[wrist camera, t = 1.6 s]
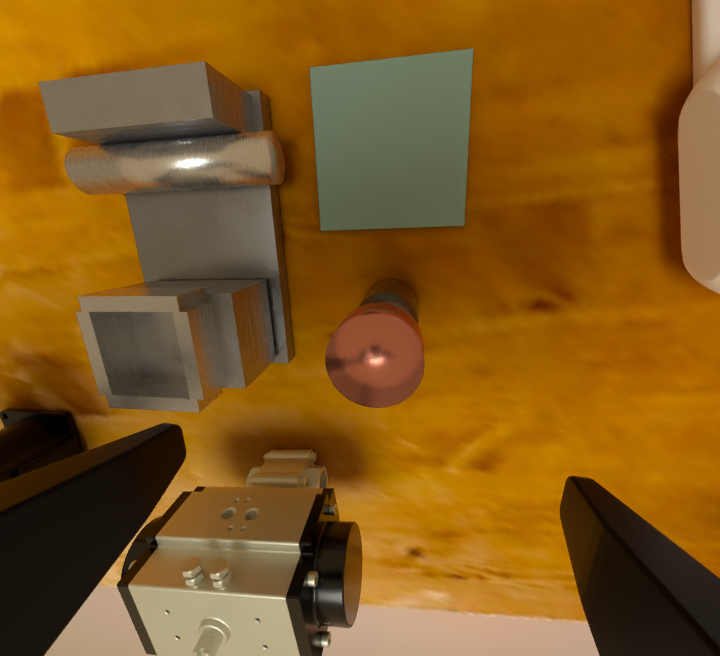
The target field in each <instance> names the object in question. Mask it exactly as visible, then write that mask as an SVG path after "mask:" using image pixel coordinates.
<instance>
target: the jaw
mask: <svg viewBox="0 0 720 656" xmlns="http://www.w3.org/2000/svg"><path fill="white" fill-rule="evenodd" d="M78 299H79V303H80V306H81V310H80V311H76V315H77V319H78V322H79V325H80V329H81V332H82V336H83V339H84V343H85V346H86V349H87V353H88V356H89V360H90V363H91V366H92V370H93V373H94V377H95V380H96V384H97V387H98V390H99V394H100V395H106V397H107V401H108V404H109V408H127V409H145V410H162V411H180V412H198V413H200V412H201V411H202V410H203V409H204V408H205V407H206V406H208V405H209V404H210V403H211V402H212V401H213V400H214V399H216V398H217V397H218V396H219V395H220V394H221V393H222V388H221V387H225V388H246V387H247V386H248V385H249V384H250V383H251V382H252V381H253V380H254V379H255V378H257V377H258V376H259V375H260V374H261V373H262V372H263V371H264V370H265V369H266V368H267V367H268V366H269V365H270V364H271V363H272V362H273V361H274V360H275V359H276V358H275V350H274V342H273V333H272V325H271V316H270V308H269V300H268V291H267V283H266V280H186V281H148V282H144V283H140V284H135V285H131V286H127V287H122V288H113V289H109V290H104V291H100V292H95V293H91V294H87V295H82V296H78Z"/></svg>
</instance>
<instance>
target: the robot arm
mask: <svg viewBox="0 0 720 656" xmlns="http://www.w3.org/2000/svg"><path fill="white" fill-rule="evenodd" d="M0 417H1V419H2V422H3V424H4V427H5V428H3V429H1V430H0V656H44V655H45V654H46V652H47V651H48V650H49V648H50V647H51V646H52V644H53V643H54V642H55V641H56V639H57V638H58V637H59V635H60V634H61V633H62V631H63V629H65V627H66V626H67V625H68V623H69V622H70V621H71V619H72V618H73V617H74V615H75V614H76V613H77V611H78V610H79V609H80V607H81V606H82V605H83V603H84V602H85V601H86V600H87V598H88V597H89V595H90V594H91V593H92V592H93V590H94V589H95V588H96V586H97V585H98V584H99V582H100V581H101V580H102V578H103V577H104V576H105V574H106V573H107V572H108V570H109V569H110V568H111V566H112V565H113V564H114V563H115V561H116V560H117V559H118V557H119V556H120V555H121V553H122V552H123V551H124V549H125V548H126V547H127V545H128V544H129V543H130V541H131V540H132V539H133V537H134V536H135V535H136V533H137V532H138V531H139V529H140V528H141V527H142V525H143V524H144V523H145V521H146V520H147V519H148V517H149V516H150V514H151V513H152V511H153V510H154V508H155V506H156V505H157V503H158V502H159V500H160V499H161V497H162V495H163V494H164V492H165V491H166V489H167V488H168V486H169V484H170V483H171V481H172V480H173V478H174V476H175V475H176V473H177V472H178V470H179V469H180V467H181V465H182V464H183V462H184V460H185V458H186V447H185V442H184V438H183V433H182V429H181V427H180V426H179V425H176V424H169V423H162V424H159V425H157V426H154V427H151V428H148V429H146V430H143V431H140V432H138V433H135V434H132V435H129V436H127V437H124V438H121V439H119V440H116V441H113V442H110V443H108V444H105V445H102V446H100V447H97V448H94V449H91V450H89V451H86V452H83V450H82V447H81V444H80V441H79V438H78V435H77V432H76V429H75V426H74V422H73V419H72V417H71V415H70V414H69V413H67V412H59V411H42V410H25V409H5V410H3V411H1V412H0ZM560 519H561V523H562V527H563V531H564V535H565V539H566V543H567V548H568V552H569V556H570V560H571V564H572V568H573V572H574V576H575V580H576V584H577V588H578V592H579V596H580V600H581V603H582V606H583V609H584V612H585V615H586V618H587V621H588V624H589V627H590V630H591V633H592V636H593V638H594V641H595V644H596V647H597V649H598V652H599V655H600V656H720V578H719V577H717V576H716V575H715V574H713V573H712V572H711V571H710V570H708V569H707V568H706V567H704V566H703V565H702V564H701V563H699V562H698V561H697V560H696V559H694V558H693V557H692V556H690V555H689V554H688V553H687V552H685V551H684V550H683V549H681V548H680V547H679V546H678V545H676V544H675V543H674V542H672V541H671V540H670V539H669V538H667V537H666V536H665V535H664V534H662V533H661V532H660V531H658V530H657V529H656V528H655V527H653V526H652V525H651V524H649V523H648V522H647V521H646V520H644V519H643V518H642V517H640V516H639V515H638V514H637V513H635V512H634V511H633V510H631V509H630V508H629V507H628V506H626V505H625V504H624V503H623V502H621V501H620V500H619V499H617V498H616V497H615V496H614V495H612V494H611V493H610V492H608V491H607V490H606V489H605V488H603V487H602V486H601V485H599V484H598V483H597V482H596V481H594V480H593V479H591V478H585V477H578V476H570V477H568V478H567V480H566V483H565V487H564V491H563V496H562V500H561V505H560Z"/></svg>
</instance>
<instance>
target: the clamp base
mask: <svg viewBox="0 0 720 656" xmlns="http://www.w3.org/2000/svg"><path fill="white" fill-rule="evenodd" d="M38 83H39V87H40V90H41V94H42V98H43V101H44V105H45V109H46V113H47V116H48V120H49V124H50V127H51V131H52V133H53V134H57V135H62V136H66V137H70V138H74V139H78V140H83V141H87V142H91V143H95V144H100V145H99V146H87V147H76V148H72V149H70V150H69V151H68V152H67V154H66V156H65V168H66V171H67V174H68V176H69V178H70V180H71V181H72V182H73V184H74V185H75V186H76V187H77V188H78V189H79V190H81V191H82V192H84V193H86V194H89V195H108V194H125V196H126V201H127V205H128V209H129V214H130V218H131V223H132V227H133V232H134V236H135V241H136V245H137V250H138V254H139V258H140V263H141V267H142V272H143V276H144V281H145V282H148V281H186V280H266V283H267V291H268V300H269V308H270V316H271V325H272V333H273V342H274V350H275V358H276V359H275V360H274V361H273V362H272V363H289V362H290V361H291V360H292V359H293V358H294V356H295V353H294V343H293V333H292V323H291V313H290V303H289V293H288V283H287V273H286V263H285V253H284V244H283V234H282V224H281V214H280V204H279V194H278V184H281V183H282V182H283V180H284V176H285V160H284V154H283V149H282V146H281V143H280V140H279V138H278V136H277V135H276V133H275V132H274V131H272V124H271V115H270V105H269V97H267V96H266V95H265V94H264V93H262V92H261V91H260V90H252V91H244V90H243V89H241V88H240V87H239V86H237V85H236V84H235V83H233V82H232V81H231V80H229V79H228V78H227V77H225V76H224V75H223V74H221V73H220V72H219V71H217V70H216V69H214V68H213V67H212V66H210V65H209V64H208V63H206V62H205V61H202V62H194V63H186V64H178V65H170V66H163V67H155V68H147V69H139V70H131V71H123V72H115V73H107V74H99V75H91V76H83V77H75V78H67V79H59V80H51V81H43V82H38Z"/></svg>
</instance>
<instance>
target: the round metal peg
mask: <svg viewBox="0 0 720 656" xmlns="http://www.w3.org/2000/svg"><path fill="white" fill-rule="evenodd" d="M326 368H327V372H328V375H329V377H330V380H331V381H332V383H333V385H334V386H335V387H336V389H337V390H338V391H339V392H340V393H341V394H342V395H344V396H345V397H346V398H348V399H349V400H351V401H353V402H355V403H357V404H360V405H363V406H367V407H374V408H382V407H389V406H392V405H395V404H398V403H400V402H402V401H404V400H405V399H407V398H408V397H409V396H410V395H411V394H412V393H413V392H414V391H415V390H416V389H417V387H418V386H419V384H420V382H421V379H422V377H423V373H424V345H423V336H422V333H421V330H420V328H419V326H418V299H417V296H416V294H415V292H414V290H413V289H412V288H411V287H410V286H409V285H408V284H407V283H405V282H403V281H401V280H397V279H386V280H383V281H380V282H378V283H377V284H375V285H374V286H373V287H372V288H371V289H370V291H369V292H368V294H367V295H366V297H365V298H364V300H363V301H362V303H361V304H360V306H359V307H358V308H356V309H355V310H353V311H352V312H351V313H350V314H349V315H348V316H347V317H346V318H345V319H344V321H343V322H342V323H341V325H340V326H339V327H338V329H337V330H336V332H335V333H334V334H333V336H332V337H331V339H330V341H329V343H328V346H327V350H326Z"/></svg>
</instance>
